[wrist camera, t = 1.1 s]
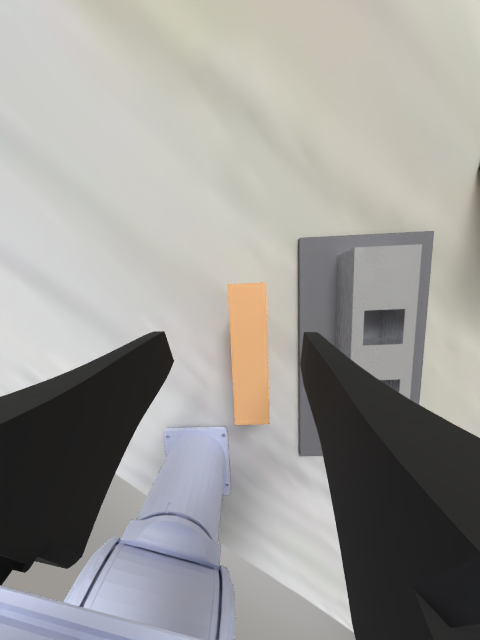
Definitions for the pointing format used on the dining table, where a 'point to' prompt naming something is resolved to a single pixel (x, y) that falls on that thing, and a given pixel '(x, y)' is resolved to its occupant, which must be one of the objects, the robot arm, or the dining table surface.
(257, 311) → the orange foam brick
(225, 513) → the dining table surface
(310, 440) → the mat
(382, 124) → the dining table surface
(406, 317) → the rail
